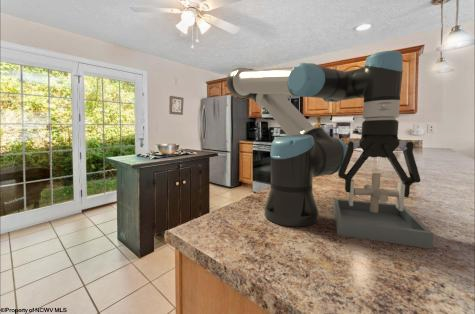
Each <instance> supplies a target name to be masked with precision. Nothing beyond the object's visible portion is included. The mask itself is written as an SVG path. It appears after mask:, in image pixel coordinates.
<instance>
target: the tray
mask: <svg viewBox="0 0 475 314" xmlns="http://www.w3.org/2000/svg"><path fill="white" fill-rule="evenodd" d="M333 214H334V222H335V229H336V234H337V236H342V237H350V238H354V239H355V238H356V239H361V240H369V241H370V240H371V241H376V242H383V243H390V244H395V245H403V246H409V247H416V248H422V249H431V250H432V249H433V243H434V232H433V231H431V230H430V229H429V228H428V226H426V224H424V223H423V222H422V221H421V220H420V219H419V218H418V217H417V216H416V215H415V214H414V213H412V211H410V210H409V209H408V208H407V207H406V206H405V205H404V206H403V211H399V210H398V209H397V208H396V203H395V204H394V203H386V202H379V206H378V212H377V213H374V212H371V211H370V201H363V200H362V201H361V200H353V206H350V205H349V199H341V198H333Z"/></svg>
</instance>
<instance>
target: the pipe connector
mask: <svg viewBox="0 0 475 314" xmlns="http://www.w3.org/2000/svg"><path fill="white" fill-rule="evenodd" d="M380 187H381V172H380V173H379V172H372V173H371V185H370V184H365V185H364V186H363V188H362V187H360V188H359V187H358V188H357V187H354V196H370V201H369V202H370V211H371V212H374V213H377V212H378V206H379V203H386V202H388V201H389V197H394V198H395V197H396V198H397V197H398V196H399V191H398V190H397V189H392V188H391V189H390V188H380ZM379 201H380V202H379Z"/></svg>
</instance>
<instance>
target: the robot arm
mask: <svg viewBox="0 0 475 314" xmlns="http://www.w3.org/2000/svg"><path fill="white" fill-rule="evenodd" d="M403 58H404V57H403V54H402V53H401V52H400V51H398V50H383V51H379V52H374V53H373V54H371V55H369V56H367V57H366V59H365V63H364V66H362V67H360V68H356V69H352V70H351V69H350V70H346V71H345V70H340V69H336V68H330V67H326V66H322V65H318V64H316V63H313V62H312V63H309V62H308V63H307V62H302V63H301V62H300V63H298V64H296V65H295V66H293V67H292V66H290V67H279V68H278V67H277V68H267V69H265V68H264V69H262V68H261V69H253V68H247V67H237V68H234V69H233V70H231V71H230V72H229V73H228V75H227V77H226V87H227V90H228V92H229V93H230V94H231V95H232V96H234V97H237V98H240V99H249V100H253V101H254V102H255V103H256V105H257V106H258V107H260V108H264V109H266V111H267V112H268V114H269V115H270V116H271V117H272V119H273V120H274V121H275V122H276V123H277V125H278V126H279V127H280V128H281V129H282V131H283V132H284V134H286V135H285V136H279V137H276V138H274V139H273V141H272V142H271V147H270V154H269V155H270V191H269V193H268V196H267V198H266V202H265V206H264V216H265V218H266V219H267V220H268V221H270V222H271V223H274V224H278V225H281V226H286V227H295V228H296V227H307V226H311V225H315V223H317V222H318V220H319V209H318V206H317V203H316V200H315V197H314V193H313V179H314V178H317V177H322V176H326V175H327V176H331V175H334V174H336V173H337V176H338V178H340V179H343V180H345V181H344V190H345V193H348V200H349V205H350V206H353V201H354V196H355V195H354V188H355V181H354V179H353V178H354V177H355V175H356V174H357V172H359V170H360V168H361V167H362V166H363V165H364V163H365V162H366V161H367V160H368V159H369V158H377V157H378V158H381V159H382V158H385V159H386V158H387V160H388V162H389V163H390V164H391V166H392V168H393V169H394V171H395V172H396V174H397V175H398V176H397V177H398V178H399V179H400V182H399V181H398V182H397V187H396V188H397V189H396V190H398V191H399V196H398V197H396V201H395V204H396V208H397V209H398V210H399V211H403V206H405V205H404V204H405V203H404V202H405V198H409V197H410V189H411V186H412V184H415V183H416V184H417V183H420V182H421V177H420V172H419V169H418V166H417V163H416V158H415V155H414V151H413V150H414V142H413V141H410V140H409V141H400V140H399V139H398V135H399V121H398V120H397V119H396V118H399V117H400V105H401V103H400V102H401V90H402V82H403V81H402V80H403V72H404V70H403V67H404V66H403V63H404V62H403V61H404V60H403ZM286 96H289V97H290V96H291V97H292V96H294V97H302V98H316V99H318V98H319V99H322V100H323V101H324V102H327V103H333V102H336V103H337V102H340V101H341V102H342V101H347V100H355V99H361V98H362V99H363V104H362V106H363V107H362V120H363V121H362V123H361V135H360V139H359V141H351V140H348V141H347V144H346V143H345V141H344V140H342V139H341V138H338V137H333V136H330V135H329V134H328V132H326V130H325V129H323V128H322V127H320V126H316V127H315V126H314V125H313V124H312V123H311V122H310V121H309V119H307V118H306V117H305V116H304V114H302V113H301V112H300V110H299V109H298V108H297V107H296V106H295V105H294V104H293V103H292V102H291V101H290V100H289V99H288V98H287V97H286ZM358 147H360V148H361V149H362V152H361V154H360V155H359V157H358V158H357V159H356V161H355V163H353V165H352V167H351V168H350V169H349V170H348V171H347V169H348V167H349V164H350V161H351V159H352V156H353V154H354V150H356V149H357V148H358ZM398 147H399V148H400V150H401V151H402V153H403V156H404V157H403V158H404V160H405V164H406V167H407V172H408V174H409V176H408V175H407V173H406V171H405V170H404V168H403V166H402V165H401V163H400V162H399V160H398V158H397V156H396V154H395V152H394V151H396V149H397V148H398ZM346 171H347V173H346Z"/></svg>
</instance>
